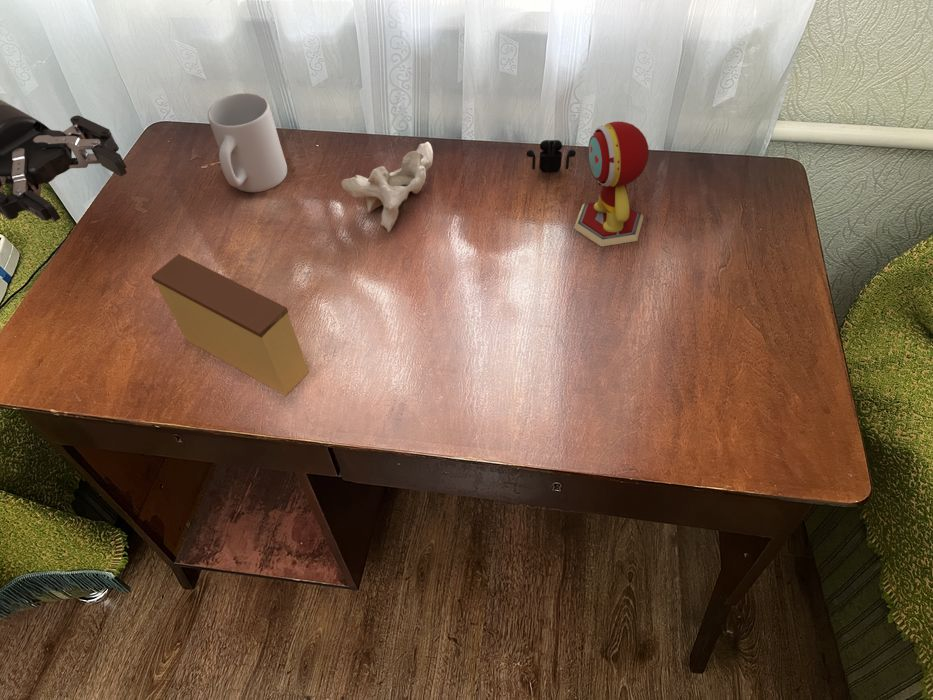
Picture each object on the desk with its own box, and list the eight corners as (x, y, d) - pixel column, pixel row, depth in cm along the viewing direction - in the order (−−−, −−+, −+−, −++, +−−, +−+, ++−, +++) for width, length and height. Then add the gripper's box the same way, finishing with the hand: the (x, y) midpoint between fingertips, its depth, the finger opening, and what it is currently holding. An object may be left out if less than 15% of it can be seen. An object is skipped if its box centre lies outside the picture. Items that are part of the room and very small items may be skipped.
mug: (243, 155, 107) (221, 90, 99) (295, 160, 106) (278, 94, 97) (212, 205, 100) (185, 139, 91) (267, 211, 99) (246, 145, 90)
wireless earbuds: (526, 173, 102) (527, 144, 98) (525, 163, 104) (527, 133, 100) (573, 173, 102) (577, 143, 98) (573, 163, 103) (576, 133, 99)
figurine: (564, 208, 97) (574, 112, 85) (632, 197, 98) (651, 101, 86) (583, 249, 92) (595, 153, 80) (654, 238, 92) (677, 141, 81)
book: (186, 340, 84) (150, 276, 75) (210, 318, 86) (178, 253, 77) (285, 396, 78) (259, 333, 70) (309, 371, 80) (286, 307, 72)
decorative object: (353, 219, 99) (334, 171, 93) (418, 166, 105) (404, 118, 99) (396, 236, 94) (378, 187, 88) (462, 180, 100) (449, 130, 94)
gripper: (-81, 142, 73) (10, 201, 67) (36, 76, 80) (128, 125, 74) (-38, 197, 79) (49, 255, 73) (68, 131, 86) (155, 180, 80)
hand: (88, 190), depth 74 cm, fingers open, 8 cm apart
